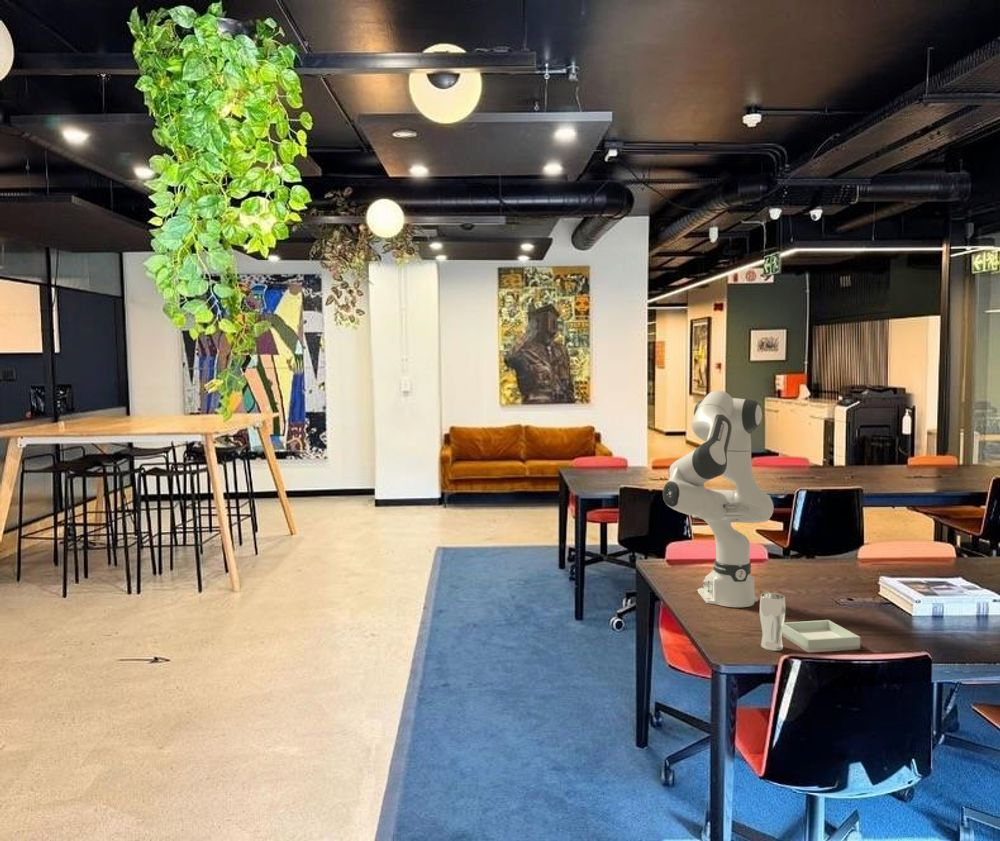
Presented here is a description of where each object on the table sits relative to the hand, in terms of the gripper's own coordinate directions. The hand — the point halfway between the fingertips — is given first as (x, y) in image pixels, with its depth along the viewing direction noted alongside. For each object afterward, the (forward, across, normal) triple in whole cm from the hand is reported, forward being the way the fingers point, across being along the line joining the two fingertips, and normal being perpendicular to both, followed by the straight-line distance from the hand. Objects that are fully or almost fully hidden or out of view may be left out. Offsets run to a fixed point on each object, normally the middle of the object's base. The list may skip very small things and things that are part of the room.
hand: (748, 517), depth 215 cm
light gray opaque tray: (+26, -7, +31) cm, 41 cm away
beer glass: (+11, -4, +36) cm, 38 cm away
